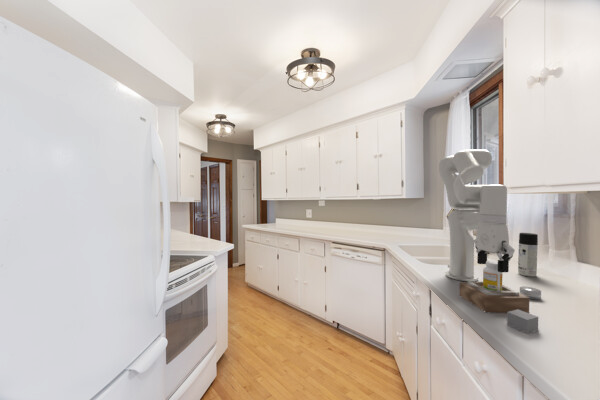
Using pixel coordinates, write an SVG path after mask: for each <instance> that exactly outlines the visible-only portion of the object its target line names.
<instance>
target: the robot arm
mask: <svg viewBox="0 0 600 400" xmlns="http://www.w3.org/2000/svg"><path fill="white" fill-rule="evenodd" d="M492 162H493V156H492V154H491V152H490V151H488V149H483V148H482V149H464V150H460V151H457V152H456V153H455V154H454V155H449V156H444V157H443V158H442V159H440V160H439V162H438V173H439V176H440V178H441V181H442V182H443V184H444V186H445V191H446V196H447V201H448V205H449V207H450V208H451V209H453V210H452V211H450V212H449V213H448V215H447V216H448V217H447V221H448V227H449V228H448V229H449V264H448V265H447V268H449V270H448V271H446V272H445V276H446V277H447V278H449V279H453V280H456V281H461V282H478V280H479V277H478V275H476V274H475V251H476V254H477V258H476V259H477V262H476V263H477V264H478V265H486V262H487V261H488V253H490V254H496V256H497V257H498V259H497V262H498V272H502V273H509V271H510V270H509V268H510V265H509V263H510V261H511V259H512V258H513V255H514V254H515V251H516V250H515V249H514V248H513V247H512V246H511V245H510V236H509V235H510V234H509V230H508V225H507V223H508V222H507V218H508V217H507V215H508V214H507V213H508V187H507V185H505V184H472V183H474V182H477V181H478V180H480V179H481V178H482V177H483V176H484V172H485V171H484V170H485V169H487V168H489V167H490V165H491V164H492ZM457 173H458V174H457ZM469 231H470V232H473V231H476V236H475V237H476V238H475V239H474V237H473V236H472V235H471V234H470V233H469ZM475 249H476V250H475Z"/></svg>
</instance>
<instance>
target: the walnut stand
mask: <svg viewBox="0 0 600 400" xmlns="http://www.w3.org/2000/svg"><path fill="white" fill-rule="evenodd" d="M458 288H459V291H458V292H459V296H460V297H461V298H463V299H464V300H465V301H467V302H469V303H471V305H473V306H475V307H477V309H480V310H481V311H483V312H484V311H485V312H484V313H486V312H490V314H493V313H494V314H495V313H496V314H499V313H502V314H503V313H505V314H507V312H509V311H513V310H517V309H519V310H521V311H524V312H527V313H529V314H530V299H529V297H527V296H524V295H522V294H520V291H516V290H514V289H512V288H511V287H508V286H505V285H503V284H502V291H488V290H486V289H484V288H483V281H472V282H468V281H461V282H459V287H458Z"/></svg>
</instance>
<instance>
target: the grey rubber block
mask: <svg viewBox="0 0 600 400" xmlns="http://www.w3.org/2000/svg"><path fill="white" fill-rule="evenodd" d="M506 314H507V315H506V317H507V318H506V325H507V326H509V327H512V328H513V327H514V328H513V329H515V330H518V331H520V332H523V333H526V334H531V333H533V332H536V331H539V316H537V315H534V314H531V313H530V312H529V313H527V312H524V311H521V310H519V309H517V310H513V311H509V312H507V313H506Z"/></svg>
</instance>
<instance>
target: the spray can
mask: <svg viewBox="0 0 600 400" xmlns="http://www.w3.org/2000/svg"><path fill="white" fill-rule="evenodd" d="M538 235H539V234H537V233H533V232H519V235H518V261H517V263H518V265H517V266H518V267H517V272H518V273H517V274H518V275H520V276H523V277H529V278H530V277H531V278H535V277H537V273H538V245H539V244H538V243H539V241H538V240H539V239H538V238H539V236H538Z"/></svg>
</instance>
